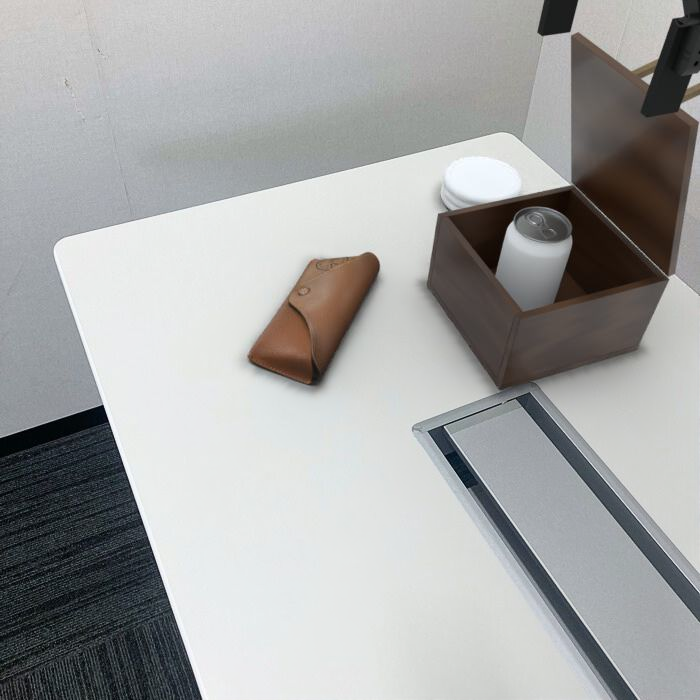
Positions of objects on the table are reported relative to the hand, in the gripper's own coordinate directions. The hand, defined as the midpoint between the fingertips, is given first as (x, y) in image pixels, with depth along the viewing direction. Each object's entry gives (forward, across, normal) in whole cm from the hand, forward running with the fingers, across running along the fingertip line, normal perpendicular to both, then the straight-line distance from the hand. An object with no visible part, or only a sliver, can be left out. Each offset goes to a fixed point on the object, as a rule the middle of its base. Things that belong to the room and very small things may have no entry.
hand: (602, 69), depth 57 cm
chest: (+30, -4, +3) cm, 30 cm away
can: (+29, -4, +2) cm, 30 cm away
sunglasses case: (+30, -11, -19) cm, 37 cm away
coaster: (+30, -25, +8) cm, 40 cm away
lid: (+12, -4, +8) cm, 15 cm away
